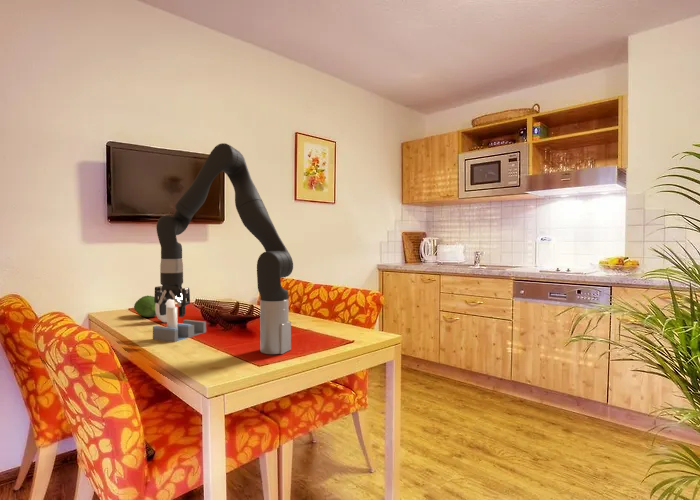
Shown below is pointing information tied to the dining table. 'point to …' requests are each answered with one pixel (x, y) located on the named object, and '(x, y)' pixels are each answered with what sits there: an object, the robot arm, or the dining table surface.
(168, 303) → the white egg candle
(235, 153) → the robot arm
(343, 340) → the dining table surface
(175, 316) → the white rectangular bar
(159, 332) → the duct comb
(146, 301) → the fruit
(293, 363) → the dining table surface
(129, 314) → the dining table surface
